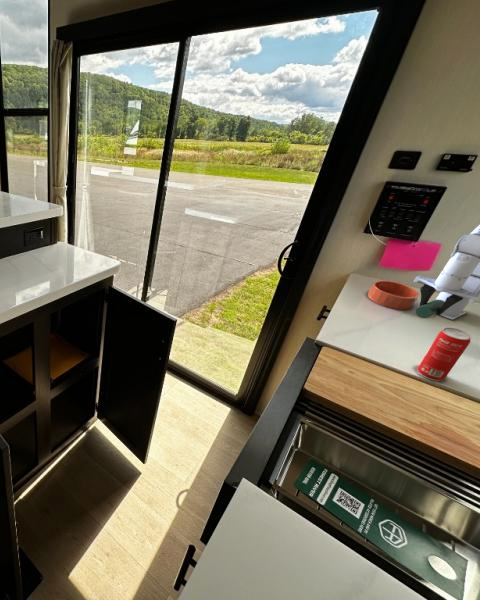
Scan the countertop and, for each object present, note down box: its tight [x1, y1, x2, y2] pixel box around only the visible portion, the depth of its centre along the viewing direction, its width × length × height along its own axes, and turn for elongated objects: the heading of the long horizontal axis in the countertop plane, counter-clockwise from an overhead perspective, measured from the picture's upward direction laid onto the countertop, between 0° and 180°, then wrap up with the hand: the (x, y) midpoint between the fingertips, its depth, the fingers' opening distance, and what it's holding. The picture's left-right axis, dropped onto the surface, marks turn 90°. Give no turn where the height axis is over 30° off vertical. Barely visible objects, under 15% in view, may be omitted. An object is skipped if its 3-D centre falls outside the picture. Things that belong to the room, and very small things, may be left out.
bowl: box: [367, 279, 420, 310], centre depth 122 cm, size 13×13×5 cm
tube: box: [414, 299, 444, 319], centre depth 103 cm, size 9×4×4 cm, turn 114°
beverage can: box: [416, 327, 472, 382], centre depth 87 cm, size 6×6×15 cm
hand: (430, 310), depth 103 cm, fingers closed on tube, 4 cm apart
